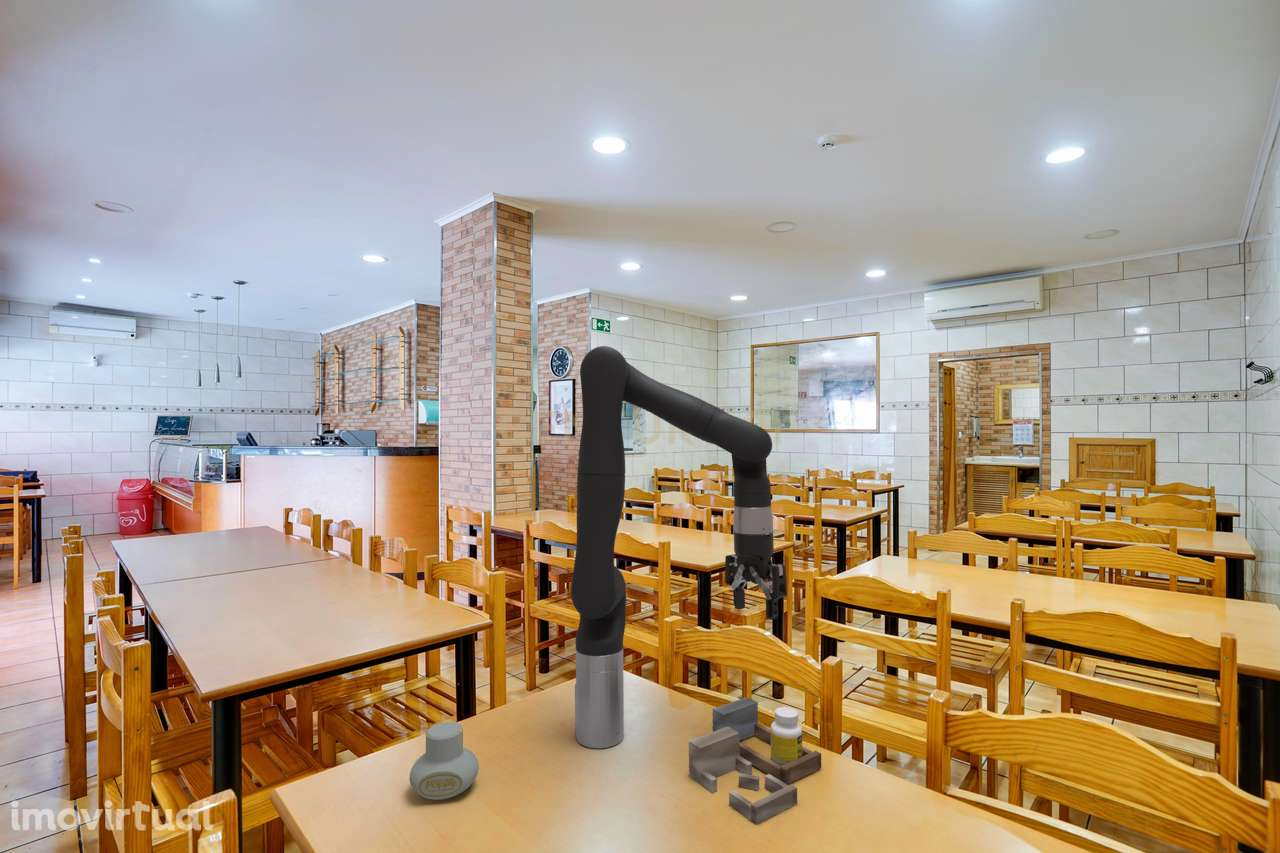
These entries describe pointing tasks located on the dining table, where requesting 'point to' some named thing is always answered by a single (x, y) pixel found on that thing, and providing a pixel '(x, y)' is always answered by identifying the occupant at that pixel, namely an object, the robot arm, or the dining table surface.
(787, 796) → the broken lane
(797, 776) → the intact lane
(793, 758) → the supplement bottle
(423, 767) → the air freshener
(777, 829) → the dining table surface
